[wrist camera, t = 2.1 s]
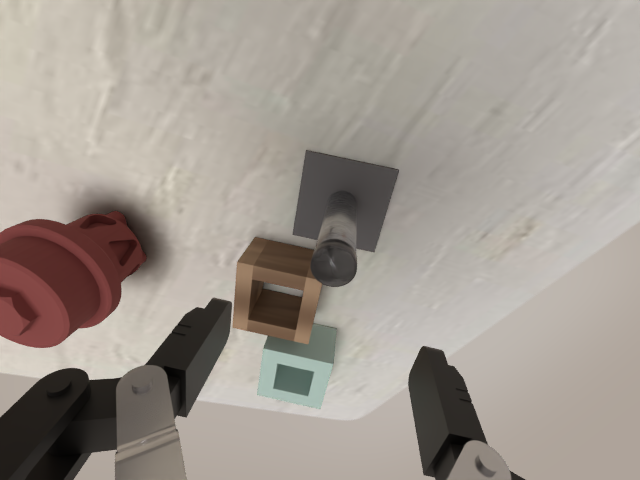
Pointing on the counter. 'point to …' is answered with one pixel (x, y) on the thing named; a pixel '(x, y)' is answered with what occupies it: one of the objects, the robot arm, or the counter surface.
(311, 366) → the teal block
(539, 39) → the counter surface
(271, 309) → the wooden square frame
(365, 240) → the mat
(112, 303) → the mechanical component
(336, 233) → the cylinder
